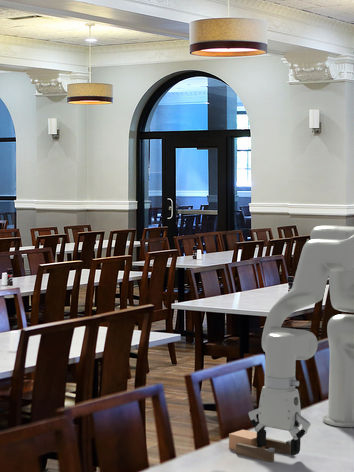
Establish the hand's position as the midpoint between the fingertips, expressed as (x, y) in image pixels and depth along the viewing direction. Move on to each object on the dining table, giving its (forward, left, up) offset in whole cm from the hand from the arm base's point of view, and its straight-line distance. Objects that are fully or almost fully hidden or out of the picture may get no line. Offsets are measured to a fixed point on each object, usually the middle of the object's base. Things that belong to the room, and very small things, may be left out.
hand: (277, 450), depth 214 cm
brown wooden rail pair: (0, -4, -2) cm, 4 cm away
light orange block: (-1, -10, -2) cm, 10 cm away
